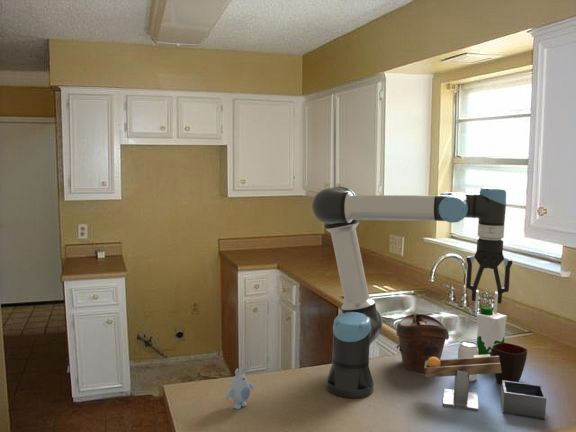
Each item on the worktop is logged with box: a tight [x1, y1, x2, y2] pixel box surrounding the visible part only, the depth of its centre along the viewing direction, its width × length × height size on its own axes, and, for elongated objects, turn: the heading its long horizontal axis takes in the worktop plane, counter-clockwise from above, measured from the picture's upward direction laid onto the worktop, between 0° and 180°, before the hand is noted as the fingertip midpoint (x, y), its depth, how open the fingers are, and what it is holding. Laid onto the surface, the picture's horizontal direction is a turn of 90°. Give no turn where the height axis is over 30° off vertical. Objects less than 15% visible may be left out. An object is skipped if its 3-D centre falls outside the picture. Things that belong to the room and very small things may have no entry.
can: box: [457, 340, 478, 383], centre depth 184 cm, size 6×6×12 cm
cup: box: [492, 342, 528, 386], centre depth 182 cm, size 10×14×12 cm
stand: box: [442, 369, 479, 412], centre depth 167 cm, size 10×11×11 cm
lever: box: [424, 354, 502, 378], centre depth 169 cm, size 22×14×3 cm, turn 72°
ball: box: [427, 357, 441, 367], centre depth 169 cm, size 4×4×4 cm
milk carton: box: [476, 305, 508, 356], centre depth 198 cm, size 9×9×20 cm
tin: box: [500, 380, 547, 421], centre depth 162 cm, size 11×9×6 cm
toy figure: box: [225, 366, 254, 410], centre depth 159 cm, size 11×6×12 cm, turn 136°
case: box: [396, 313, 450, 373], centre depth 194 cm, size 18×20×18 cm
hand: (485, 312), depth 169 cm, fingers open, 5 cm apart
